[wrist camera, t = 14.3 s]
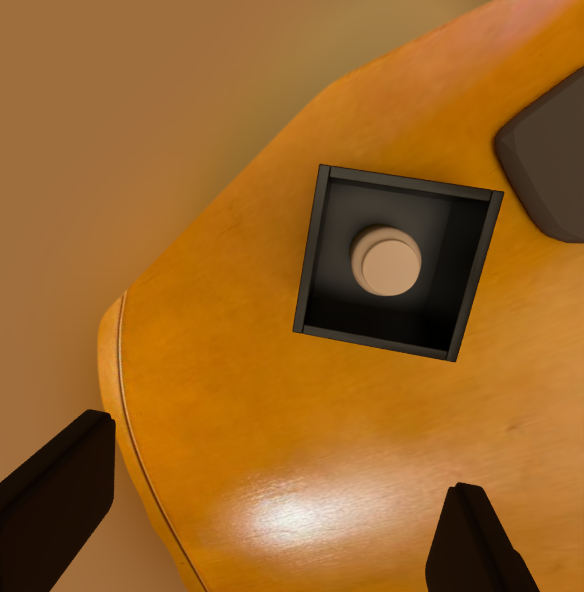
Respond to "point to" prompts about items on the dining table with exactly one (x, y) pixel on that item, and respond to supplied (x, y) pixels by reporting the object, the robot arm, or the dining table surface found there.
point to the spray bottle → (549, 159)
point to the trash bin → (434, 261)
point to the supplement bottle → (384, 260)
